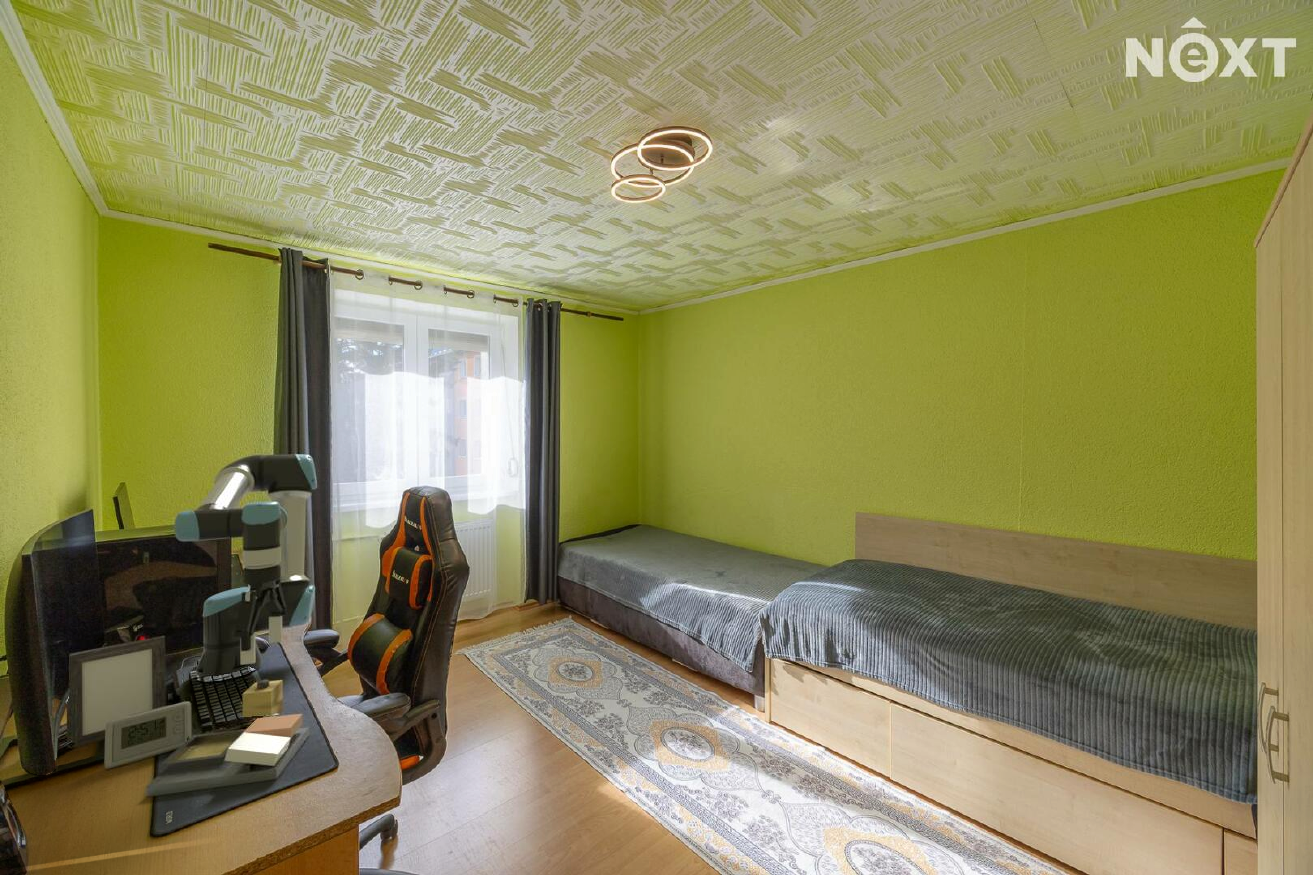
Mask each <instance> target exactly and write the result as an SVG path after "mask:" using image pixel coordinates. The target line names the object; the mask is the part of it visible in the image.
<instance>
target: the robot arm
mask: <svg viewBox="0 0 1313 875" xmlns="http://www.w3.org/2000/svg"><path fill="white" fill-rule="evenodd" d="M213 483H214V485H213V487H212V488H211V490H210V491H209V492H208V494H206V496H205V497H204V499H203V500H202V502H201V503H200V504H199V506H198V507H197V509H195V510H194V509H190V510H183V511H180V512H178V514H176V516H175V520H174V527H173V528H174V534H175V538H176V539H177V540H178V541H180V542H201V541H211V540H223V539H235V538H236V539H237V538H242V553H240V554H241V555H240V556H241V557H242V566H243V567H244V568H243V569H242V583H243V584H244V585H248V586H242V587H238V588H233V589H229V590H225V591H222V592H221V591H220V592H219V593H216V594H214V595H211V596H209V597H208V598H207V599H206V600H205V601H204V603H203V610H202V612H203V613H202V619H203V620H202V621H203V622H202V624H203V625H202V626H203V630H202V632H203V651H202V654H201V657H200V659H199V661H198V664H197V667H196V670H195V675H196V674H197V675H199V676H219V675H224V674H230V673H232V672H237V671H239V670H241V669H242V668H245V667H248V666H249V667H251V668H254V669H256V671H257V670H259V669H260V668H261V667H262V665H263V656H262V654H261V651H260V649H259V647H258V644H257V641H256V633H258V632H266V631H268V643H269V644H273V643H274V644H275V643H282V642H283V629H288V628H293V627H298V626H304V625H306V624H307V623H309V621H310V619H311V616H312V612H313V608H314V602H315V595H316V587H315V585H313V584H311V582H310V581H311V580H310V578H308V577H307V576H306V575H305V556H306V555H305V553H306V550H305V549H306V548H305V546H306V509H307V507H306V506H307V505H306V504H307V503H306V502H307V499H309V498H310V497H311V496H312V490H316V489H317V488H318V482H317V473H316V466H315V462H314V459H313V457H312V456H311V455H309V454H297V453H291V454H289V453H287V454H254V455H249V456H245V457H242V458H240V459H237V460H234V461H232V462H231V463H229V464H227V465H226V466H224V467H223V468H221V469H220V471H219V472H217V474H216V476H215V477H214V482H213ZM253 492H267V497H268V498H269V499H271V500H272V501H267V500H265V501H255V502H248V503H245V504H244V505H243V506H242V507H239V505H240V504H241V502H242V500H243V498H244V497H245V496H246V495H248V494H249V493H253ZM238 507H239V508H238Z"/></svg>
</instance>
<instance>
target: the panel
mask: <svg viewBox="0 0 1313 875" xmlns="http://www.w3.org/2000/svg"><path fill="white" fill-rule="evenodd" d="M246 729H247V728H244V729H243V728H242V729H235V730H226V731H218V732H217V731H216V732H208V733H202V734H201V733H198V734H193V735H191V738H189V739H188V740H187V741H186V742H185V743H184V744H183V745H181V746H180V747H179V748H178V749H175V750H174V751H173V752H172V753H171V754H170V755H169V756H168V757H167V758H165V759H164V760H163V761H162V762H161V763H160V764H158V772H159V773H160V774H158V775H157V776H156V777H155V778H154V779H153V780H152V781H151V782H149V783H148V785H146V786H145V797H146V798H149V797H156V796H162V795H170V794H178V793H184V792H185V793H186V792H193V791H199V790H206V789H207V790H208V789H213V788H214V789H215V788H221V787H229V786H235V785H236V786H237V785H243V784H250V783H257V782H263V781H271V780H278V777H279V776H280V775H281V774H282V773H283V771H284V769H286V767H287V766H288V764H289V763H290V762H291V760H292V759H293V758H294V757H295V755H296V754H297V753H298V752H299V749H300V748H302V746H303V745H304V743H305V742H306V740H307V739H308V738H309V737H310V727H307V726H306V727H300V728H299V729H298V730H297V732H296V733H295V734H294V735H293V737H292V738H291V739H290V742H289V746H288V749H287V750H286V752H285V753H284V754H283V755H282V757H281V758H280V759H279V760H278V762H277V763H276V764H275V766H271V765H262V764H252V763H242V762H232V761H225V757H226V754H227V750H228V748H229V747H230V746H231V745H232V744H233V743H234V742H235V741H236V740H237V739H238V738H239V737H240V736H241V735H242V734H243V732H244V731H245V730H246ZM308 736H309V737H308ZM307 737H308V738H307ZM304 741H305V742H304ZM301 745H302V746H301Z"/></svg>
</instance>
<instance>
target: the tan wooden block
mask: <svg viewBox="0 0 1313 875" xmlns="http://www.w3.org/2000/svg"><path fill="white" fill-rule="evenodd" d="M283 682H284V680H283V679H280V680H270V679H262V680H259V681H258V682H254V683H253V684H252V685H251V686H249V688H247V689H246V690H245V691H244V692H243V693H242V718H243V717H252V716H264V715H269V716H272V715H273V714H275V713H278V714H279V713H280V712H281V711H282V710H283V711H284V698H283V696H284V693H283V692H284V689H283V687H284V686H283V685H284V683H283ZM283 711H282V712H283ZM282 712H281V713H282ZM281 713H280V714H281ZM280 714H279V715H280Z"/></svg>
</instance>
